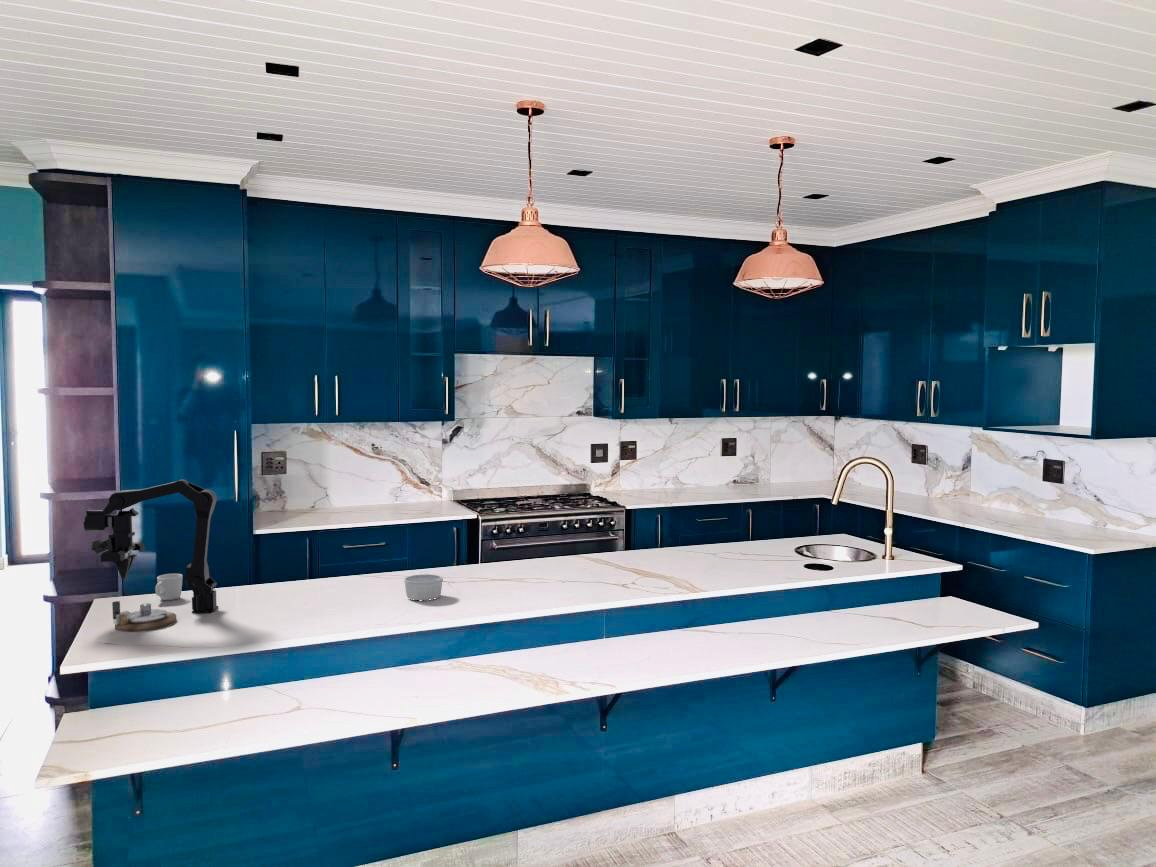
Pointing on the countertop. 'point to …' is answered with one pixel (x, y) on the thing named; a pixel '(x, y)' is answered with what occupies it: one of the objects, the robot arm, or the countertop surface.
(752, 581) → the countertop surface
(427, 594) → the ramekin
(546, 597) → the countertop surface
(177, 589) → the cup
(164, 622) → the plinth
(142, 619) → the light grey irregular piece
